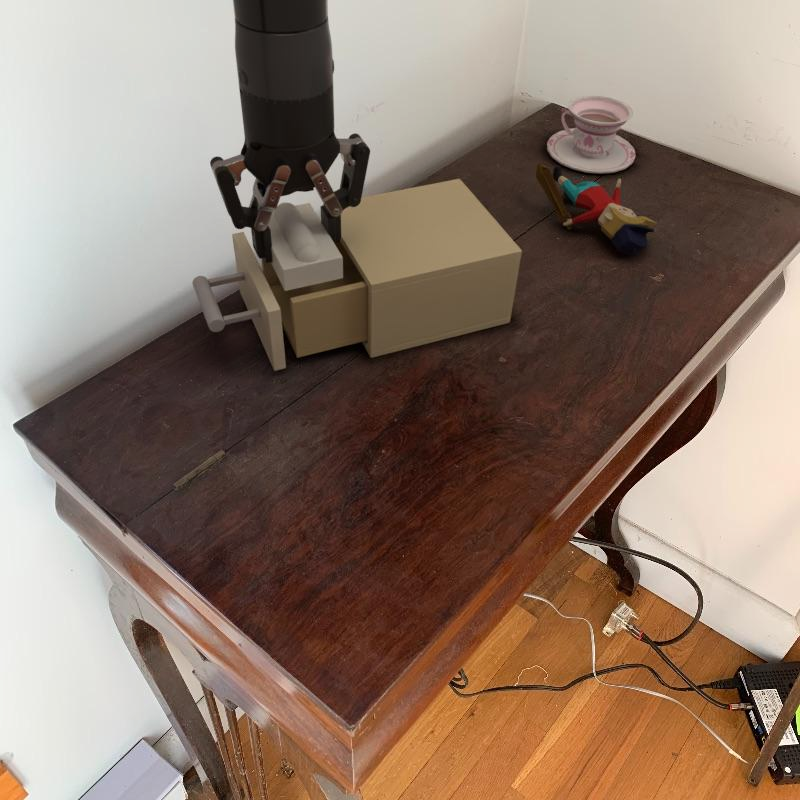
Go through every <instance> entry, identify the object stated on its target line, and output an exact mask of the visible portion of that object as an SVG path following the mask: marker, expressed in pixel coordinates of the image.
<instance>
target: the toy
mask: <svg viewBox="0 0 800 800" xmlns="http://www.w3.org/2000/svg"><path fill="white" fill-rule="evenodd" d="M552 171H553V172H551V169H550V168H549V167H547V166H546V165H544V164H542V162H541V163H540V162H539V161H537V165H536V170H535V178H536V180H537V182H538V183H539V185H540V187H541V188H542V191H543V192H544V193H545V195H546V197H547V199H548V200H549V202H550V204H551V205H552V207H553V209H554V210H555V212H556V214H557V216H558V217H557V220H558V222H559V223H562V225H563V226H564V227H566V229H567V231H569V230H572V228H573V227H572V225H574V224H581V223H582V224H584V223H589V222H590V223H591V222H598V225H600V226H601V227H600V228H601V229H600V230H601V232H602V233H603V234H605V236H606V237H607V238H608V239H610V241H611V243H612V244H613V246H614V247H615V248H616V250H617V251H618V252H621V253H624V254H626V255H636V254H637V253H639V252H641V251H642V250H644V249H645V248H646V247H647V246H648V239H647V234H648V233H654V232H655V229H654V227H655V226H657V225H658V222H656V221H654V220H653V219H650V218H649V217H647V216H644V215H643V216H642V215H638V216H637V214H636V213H635V212H634V211H633V210H632V209H631V208H628V207H625V206H623V205H622V204H621V192H620V190H621V185H622V179H621V178H618V179H617V181H616V184H615V187H614V190H613V194H612V197H611V196H610V195H609V193H608V192H607V191H606V190H605V188H604V187H603V186H602V185H600V183H597V182H596V181H581V182H578V183H577V184H576V185H575V184H573V183H572V182H571V180H570V179H569V178H567V177H565V176H563V173H562V167H561V164H559V165H558V164H557V165H555V167H554V168H553V170H552ZM556 183H558V185H559V186H560V188H561V189H562V190H563V196H564V200H565V201H566V202H567V203H571V202H572V203H573V205H574V207H576V208H581V209H585V210H586V212H584V213H582V214H579V215H577V216H575V217H573V218H572V215H571V213H570V212H569V211H567V209H566V207H565V204H564V202H563V199H562V196H561V194H560V192H559V189H558V186H557V184H556Z"/></svg>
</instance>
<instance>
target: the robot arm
mask: <svg viewBox="0 0 800 800" xmlns="http://www.w3.org/2000/svg"><path fill="white" fill-rule="evenodd" d="M232 6H233V13H234V29H235V30H234V54H235V63H236V73H237V80H238V90H239V97H240V108H241V114H242V115H241V116H242V117H241V118H242V124H243V134H244V141H243V146H242V148H241V150H240V154H237V155H235V156H234V155H233V156H232V157H229V158H226V159H223V158H222V157H221V156H213V157H212V158H211V159H210V162H209V166H210V168H211V170H212V171H211V172H212V173H213V176H214V179H215V182H216V184H217V187H218V190H219V192H220V195H221V199H222V201H223V203H224V206H225V208H226V211H227V214H228V216H229V218H230V219H231V222H232V225H233V226H234V228H235V229H236V230H243V229H245V228H250V231H251V232H250V233H251V240H252V248H253V249H254V253H255V254H256V255H257V257H258V259H260V260H261V258H263V259H264V261H265V263H270V262H273V260H272V250H271V247H272V240H271V230H270V228H269V226H268V223H269V220H270V218H271V215H272V212H273V210H276V208H277V206H278V205H279V204H280V203H279V202H280V199H281V197H285V196H289V195H293V194H294V193H296V192H299V193H300V192H301V193H309V192H313V191H316V193H317V195H318V196H319V198H320V199H321V202H322V205H324V206H322V205H320V206H319V207H320V208H319V209H320V220H321V223H322V225H323V226H324V228H325V230H326V231H327V233H328V235H330V237H331V239H332V240H333V242H334V244H335V245H336V243H338V242H340V240H341V213H342V211H343V210H344V209H346V208H347V207H349V206H351V207H356V206H358V205H359V204H360V202H361V198H362V197H363V191H364V186H365V181H366V175H367V171H368V166H369V161H370V155H371V149H370V147H369V146H368V144H367V143H366V142H365V141H364V139H363V137H362V136H360V134H359V133H355V132H354V133H352V134H350V135H349V137H348V138H337V136H336V134H335V101H334V97H335V96H334V73H335V61H334V58H333V57H334V56H333V43H332V36H331V30H330V22H329V5H328V0H232ZM339 155H340V158H341V160H342V161H343V167H342V173H341V178H340V183H339V184H340V185H339V189H337V190H335V191H334V189H333V187H332V186H331V184H330V181H329V180H328V178H327V176H326V175H327V173H328V172H329V170H330V169H331V167H332V166H333V164H334V162H335V161H336V159H337V158H338V156H339ZM245 170H247V171H248V172H249V173H250V174H251V175H252V176H253V177H254V178H255V180H254V183H253V186H252V196H251V199H250V202H249V205H248V206H243V205H242V203H241V199H240V196H239V194H238V191H237V187H238V186H239V185H240V183H241V182H242V173H243V172H244V171H245Z"/></svg>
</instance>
